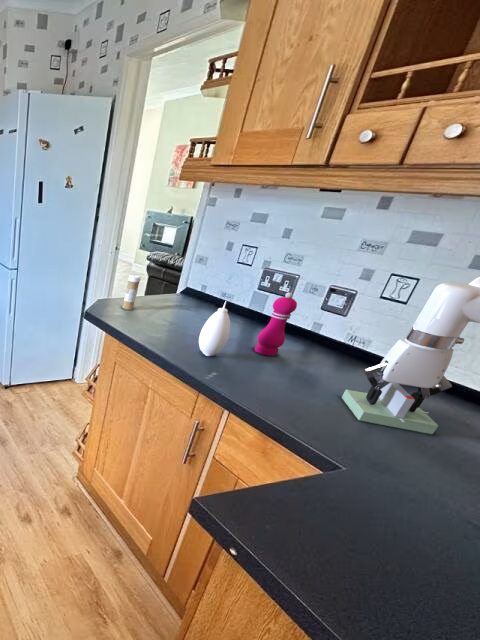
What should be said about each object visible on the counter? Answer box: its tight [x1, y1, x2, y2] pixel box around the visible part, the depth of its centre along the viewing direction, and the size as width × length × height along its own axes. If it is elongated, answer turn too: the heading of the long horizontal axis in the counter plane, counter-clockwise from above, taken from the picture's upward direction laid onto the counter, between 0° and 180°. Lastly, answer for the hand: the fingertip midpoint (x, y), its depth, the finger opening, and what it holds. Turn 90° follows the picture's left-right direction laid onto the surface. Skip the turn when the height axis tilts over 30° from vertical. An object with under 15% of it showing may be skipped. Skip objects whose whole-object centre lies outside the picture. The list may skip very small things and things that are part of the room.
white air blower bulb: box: [198, 300, 231, 357], centre depth 128 cm, size 8×8×18 cm
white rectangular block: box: [379, 383, 415, 418], centre depth 101 cm, size 11×2×5 cm, turn 157°
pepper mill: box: [254, 291, 298, 357], centre depth 131 cm, size 7×7×20 cm
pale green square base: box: [341, 389, 439, 435], centre depth 103 cm, size 15×15×3 cm
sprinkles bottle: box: [122, 274, 142, 310], centre depth 169 cm, size 5×5×14 cm
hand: (389, 405), depth 102 cm, fingers open, 7 cm apart
